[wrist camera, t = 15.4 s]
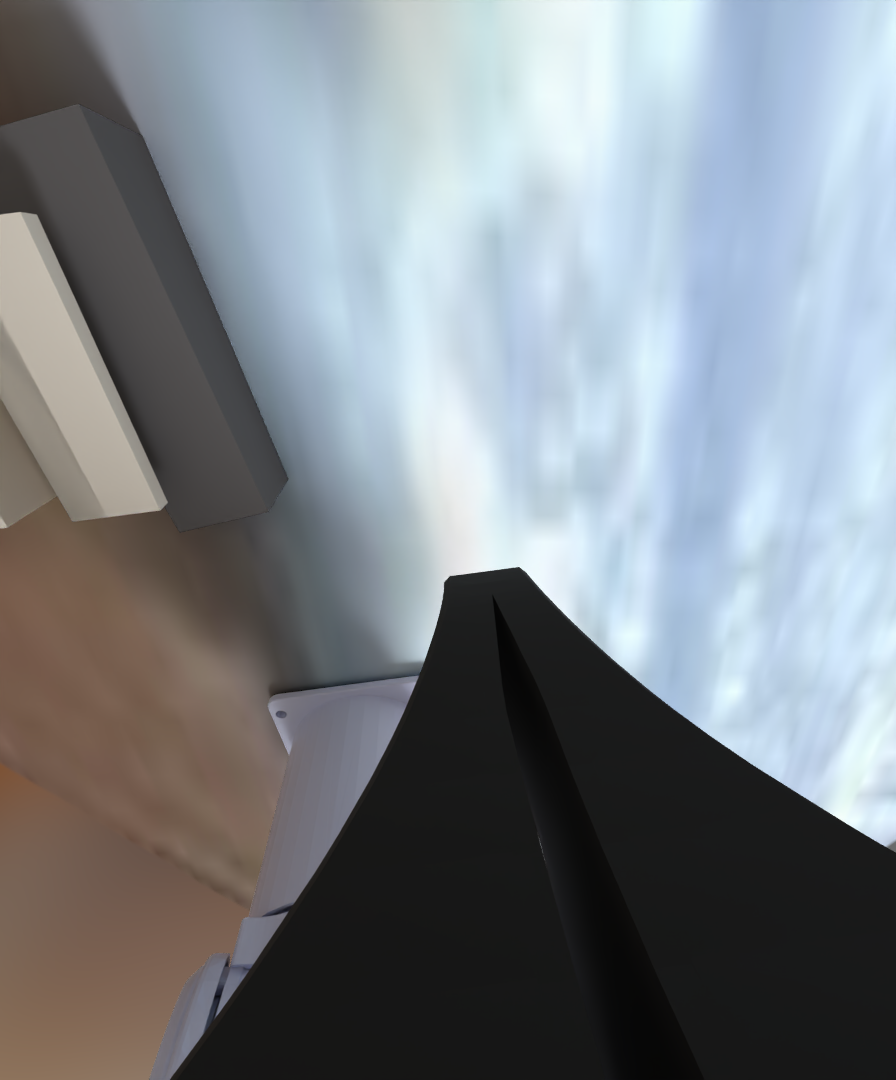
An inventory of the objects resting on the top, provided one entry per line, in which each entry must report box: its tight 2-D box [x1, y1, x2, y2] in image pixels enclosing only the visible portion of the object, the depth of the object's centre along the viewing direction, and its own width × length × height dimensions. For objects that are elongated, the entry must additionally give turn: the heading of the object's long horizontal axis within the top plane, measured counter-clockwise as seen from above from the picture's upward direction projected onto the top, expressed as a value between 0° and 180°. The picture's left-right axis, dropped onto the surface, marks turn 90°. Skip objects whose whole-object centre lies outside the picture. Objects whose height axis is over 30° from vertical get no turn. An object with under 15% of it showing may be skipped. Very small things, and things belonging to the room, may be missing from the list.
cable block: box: [0, 104, 288, 532], centre depth 14 cm, size 10×3×3 cm, turn 12°
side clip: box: [0, 212, 168, 522], centre depth 13 cm, size 7×4×4 cm, turn 6°
